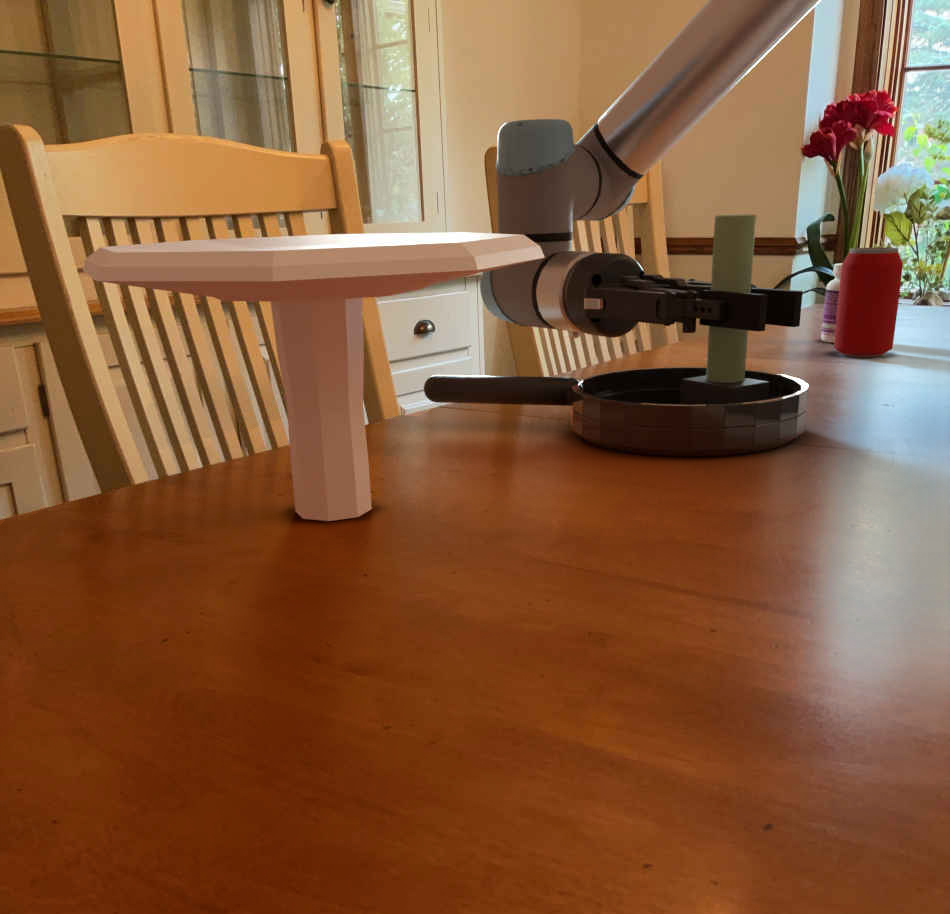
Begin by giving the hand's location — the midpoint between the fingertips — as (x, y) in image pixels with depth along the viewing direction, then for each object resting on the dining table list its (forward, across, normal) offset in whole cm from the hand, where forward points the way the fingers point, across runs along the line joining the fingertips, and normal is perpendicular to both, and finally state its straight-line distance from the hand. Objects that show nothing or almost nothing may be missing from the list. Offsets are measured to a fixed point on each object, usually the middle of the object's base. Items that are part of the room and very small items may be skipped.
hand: (780, 311), depth 82 cm
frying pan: (-6, +4, -10) cm, 12 cm away
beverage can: (-25, -43, -10) cm, 51 cm away
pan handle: (-18, +15, -8) cm, 24 cm away
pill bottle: (-35, -50, -10) cm, 62 cm away
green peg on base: (-5, 0, -9) cm, 11 cm away
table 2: (-2, +38, -10) cm, 40 cm away
